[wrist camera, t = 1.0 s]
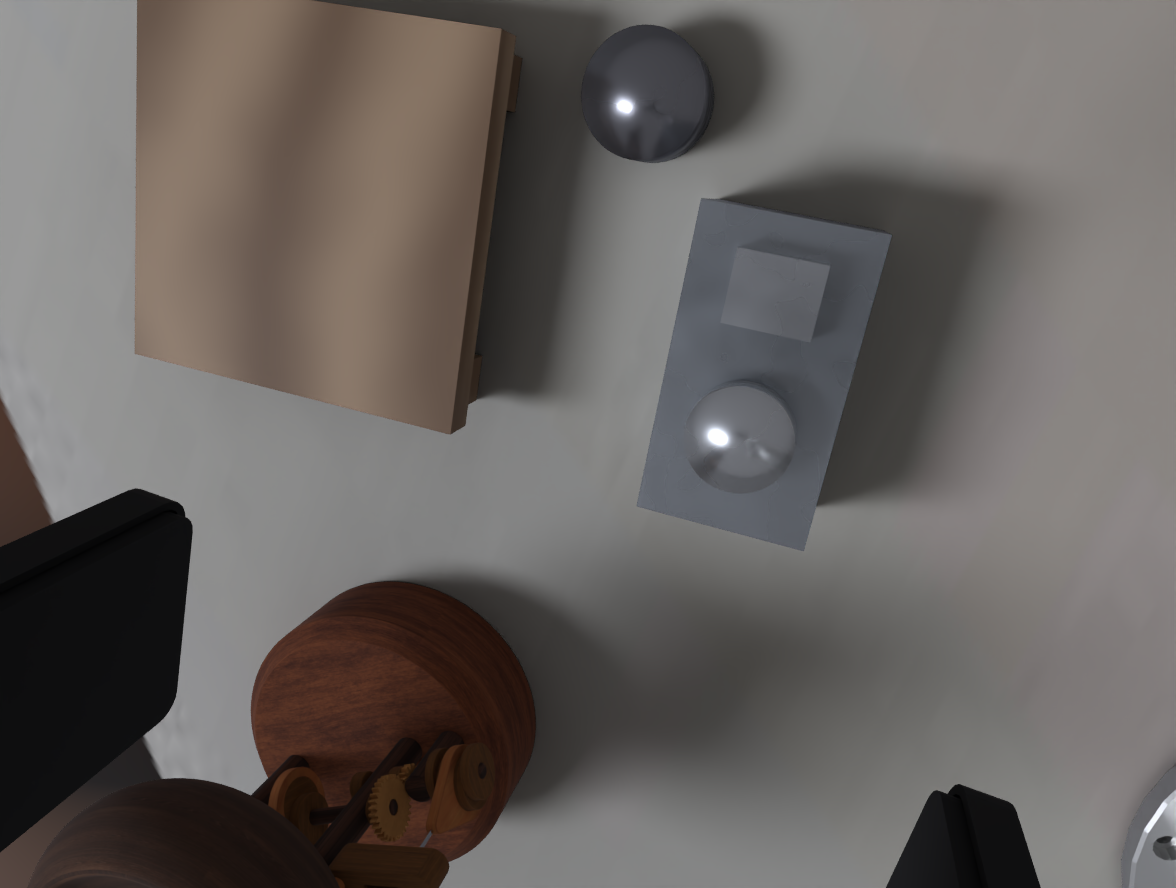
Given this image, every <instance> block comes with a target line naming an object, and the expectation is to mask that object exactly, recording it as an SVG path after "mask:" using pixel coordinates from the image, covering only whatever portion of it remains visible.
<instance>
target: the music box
mask: <svg viewBox="0 0 1176 888" xmlns="http://www.w3.org/2000/svg"><path fill="white" fill-rule="evenodd" d="M251 722H252V730H253V735H254V740H255V744H256V748H257V751H258V754H259V757H260V759H261V762H262V765H263V767H264V770H265V772H266V774H267V777H268V779H267V780H266V781H265V782H264V783H263V784H262V785H261V786H260V787H259V788H258V789H257V790H256V791H255V792H254V793H253V794H252V795H251V796H250V795H248V794H246V793H244V792H242V791H239V790H237V789H234V788H231V787H228V786H225V785H222V784H218V783H214V782H209V781H205V780H198V779H186V778H171V779H159V780H152V781H147V782H142V783H138V784H135V785H132V786H128V787H126V788H123V789H120V790H118V791H116V792H113V793H111V794H109V795H107V796H105V797H103V798H101V799H100V800H98V801H96V802H95V803H93V804H92V805H90V806H89V807H87V808H86V809H84V810H83V811H82V812H81V813H79V814H78V815H77V816H76V817H74V818H73V819H72V820H71V821H70V822H69V823H68V824H67V825H66V826H65V827H64V828H63V829H62V830H61V831H60V832H59V834H58V835H57V836H56V837H55V838H54V840H53V841H52V842H51V843H50V845H49V846H48V847H47V849H46V850H45V852H44V854H43V855H42V857H41V858H40V860H39V862H38V864H37V866H36V868H35V870H34V872H33V874H32V877H31V879H30V882H29V884H28V887H27V888H439V886H440V885H441V883H442V881H443V880H444V878H445V876H446V874H447V873H448V871H449V863H448V862H450V861H452V860H454V859H457V858H459V857H461V856H463V855H464V854H466V853H468V852H469V851H471V850H472V849H473V848H475V847H476V846H477V845H478V844H479V843H480V842H481V841H482V840H483V839H484V838H485V837H486V836H487V835H488V834H489V832H490V831H491V830H492V828H493V827H494V825H495V823H496V822H497V820H498V818H499V816H500V814H501V813H502V811H503V809H504V807H505V805H506V803H507V802H508V800H509V798H510V796H511V794H512V792H513V791H514V789H515V787H516V785H517V783H518V782H519V780H520V778H521V776H522V774H523V772H524V771H525V769H526V767H527V765H528V762H529V760H530V757H531V754H532V750H533V746H534V741H535V731H536V718H535V708H534V702H533V698H532V694H531V690H530V687H529V684H528V681H527V679H526V676H525V674H524V672H523V670H522V667H521V665H520V664H519V662H518V660H517V658H516V657H515V655H514V653H513V652H512V650H511V649H510V648H509V646H508V645H507V643H506V642H505V641H504V640H503V638H502V637H501V636H500V635H499V634H498V633H497V631H496V630H495V629H494V628H493V627H492V626H491V625H490V624H489V623H488V622H486V621H485V620H484V619H483V618H482V617H481V616H479V615H478V614H477V613H476V612H474V611H473V610H472V609H470V608H469V607H467V606H466V605H464V604H463V603H461V602H459V601H458V600H456V599H454V598H452V597H450V596H448V595H446V594H444V593H441V592H439V591H436V590H434V589H431V588H428V587H424V586H421V585H416V584H411V583H404V582H375V583H369V584H365V585H361V586H358V587H355V588H352V589H349V590H347V591H345V592H343V593H341V594H340V595H338V596H336V597H335V598H333V599H332V600H330V601H329V602H328V603H327V604H325V605H324V606H323V607H322V608H320V609H319V610H318V611H316V612H315V613H314V614H313V615H311V616H310V617H309V618H308V619H306V620H305V621H304V622H302V623H301V624H300V625H299V626H297V627H296V628H295V629H294V630H292V631H291V632H290V633H288V634H287V635H286V636H285V637H283V638H282V639H281V640H280V641H279V642H278V643H277V644H276V645H275V646H274V647H273V648H272V650H271V651H270V652H269V653H268V655H267V656H266V658H265V660H264V661H263V663H262V665H261V667H260V669H259V672H258V674H257V677H256V680H255V683H254V687H253V692H252V700H251Z"/></svg>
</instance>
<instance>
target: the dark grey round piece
mask: <svg viewBox="0 0 1176 888" xmlns="http://www.w3.org/2000/svg"><path fill="white" fill-rule="evenodd" d="M581 101H582V109H583V113H584V117H585V120H586V122H587V125H588V127H589V129H590V130H591V132H592V134H593V135H594V137H595V138H596V139H597V140H598V141H599V143H600V144H601V145H602V146H604V147H605V148H606V149H607V150H609V151H610V152H612V153H614V154H616V155H618V156H620V157H623V158H627V159H631V160H636V161H641V162H647V163H660V162H665V161H669V160H672V159H675V158H677V157H679V156H681V155H682V154H684V153H685V152H687V151H688V150H689V149H691V148H692V147H693V146H694V145H695V144H696V143H697V142H698V141H699V139H700V138H701V136H702V135H703V134H704V132H705V130H706V128H707V126H708V124H709V121H710V119H711V115H712V111H713V105H714V88H713V82H712V78H711V75H710V72H709V70H708V68H707V66H706V64H705V62H704V61H703V60H702V58H701V57H700V55H699V54H698V53H697V52H696V51H695V50H694V49H693V48H692V47H691V46H690V45H689V44H688V43H687V42H686V41H685V40H684V39H683V38H682V37H680V36H679V35H678V34H676V33H675V32H673V31H671V30H669V29H666V28H664V27H660V26H655V25H637V26H632V27H629V28H626V29H623V30H621V31H619V32H617V33H615V34H614V35H612V36H611V37H610V38H608V39H607V40H606V41H605V42H604V43H603V44H602V45H601V46H600V47H599V48H598V49H597V51H596V52H595V53H594V55H593V56H592V58H591V60H590V62H589V64H588V66H587V68H586V71H585V74H584V78H583V83H582V91H581Z"/></svg>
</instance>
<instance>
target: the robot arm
mask: <svg viewBox="0 0 1176 888" xmlns="http://www.w3.org/2000/svg"><path fill="white" fill-rule="evenodd" d="M192 533H193V530H192V523H191V521H190V520H189V519H188V518H186V517H185V511H184V509H183V506H181V505H180V504H179V503H178V502H175V501H172V500H170V499H167V498H164V497H161V496H159V495H156V494H153V493H150V492H148V491H145V490H142V489H132V490H128V491H126V492H124V493H121V494H119V495H117V496H115V497H112V498H110V499H108V500H106V501H103V502H101V503H99V504H97V505H94V506H92V507H90V508H88V509H85V510H83V511H81V512H79V513H76V514H74V515H72V516H70V517H67V518H65V519H63V520H60V521H58V522H56V523H54V524H52V525H49V526H47V527H45V528H42V529H40V530H38V531H36V532H33V533H31V534H29V535H27V536H24V537H22V538H20V539H18V540H16V541H13V542H11V543H9V544H7V545H4V546H2V547H0V852H1V851H2V850H4V849H5V848H6V847H7V846H9V845H10V844H11V843H12V842H14V841H15V840H16V839H17V838H18V837H20V836H21V835H22V834H23V833H25V832H26V831H27V830H28V829H29V828H30V827H32V826H33V825H34V824H36V823H37V822H38V821H39V820H40V819H41V818H43V817H44V816H45V815H47V814H48V813H49V812H50V811H51V810H53V809H54V808H55V807H56V806H58V805H59V804H60V803H61V802H62V801H64V800H65V799H66V798H67V797H68V796H70V795H71V794H72V793H73V792H75V791H76V790H77V789H78V788H80V787H81V786H82V785H83V784H85V783H86V782H87V781H88V780H89V779H91V778H92V777H93V776H94V775H96V774H97V773H98V772H99V771H100V770H102V769H103V768H104V767H105V766H107V765H108V764H109V763H110V762H112V761H113V760H114V759H115V758H116V757H118V756H119V755H120V754H121V753H122V752H124V751H125V750H126V749H127V748H129V747H130V746H131V745H132V744H134V743H135V742H136V741H137V740H138V739H140V738H141V737H142V736H143V735H145V734H146V733H147V732H148V731H150V730H151V729H152V728H153V727H154V726H156V725H157V724H158V723H159V722H160V721H161V720H162V719H163V718H164V717H165V716H166V715H167V713H168V712H169V710H170V709H171V707H172V705H173V703H174V700H175V698H176V693H177V685H178V675H179V665H180V655H181V645H182V634H183V624H184V614H185V604H186V594H187V584H188V573H189V563H190V553H191V543H192ZM1121 864H1122V888H1176V765H1175V766H1174V767H1173V768H1171V769H1170V770H1169V771H1167V773H1166V774H1165V775H1164V776H1163V777H1162V778H1161V780H1160V781H1159V782H1158V783H1157V784H1156V786H1155V787H1154V788H1153V789H1152V790H1151V791H1150V793H1149V794H1148V795H1147V796H1146V797H1145V798H1144V800H1143V802H1142V804H1141V806H1140V808H1139V810H1138V812H1137V814H1136V815H1135V817H1134V819H1133V821H1132V823H1131V825H1130V827H1129V830H1128V834H1127V838H1126V842H1125V846H1124V850H1123V855H1122V859H1121ZM886 888H1041V887H1040V884H1039V881H1038V878H1037V875H1036V872H1035V868H1034V865H1033V862H1032V859H1031V856H1030V853H1029V850H1028V846H1027V843H1026V840H1025V837H1024V834H1023V831H1022V828H1021V824H1020V821H1019V818H1018V815H1017V812H1016V810H1015V808H1014V806H1013V804H1011V803H1009V802H1007V801H1005V800H1002V799H999V798H996V797H994V796H991V795H988V794H985V793H983V792H980V791H977V790H974V789H971V788H969V787H966V786H963V785H960V784H958V785H955V786H954V787H953V788H952V789H951V790H950V791H949V793H948V794H946V793H943V792H940V791H938V790H936V791H933V793H932V794H931V795H930V796H929V798H928V800H927V802H926V804H925V806H924V808H923V810H922V812H921V814H920V817H919V819H918V821H917V823H916V825H915V827H914V829H913V831H912V834H911V836H910V838H909V840H908V842H907V844H906V846H905V848H904V851H903V853H902V855H901V857H900V859H899V861H898V863H897V865H896V867H895V870H894V872H893V874H892V876H891V878H890V880H889V882H888V884H887V887H886Z"/></svg>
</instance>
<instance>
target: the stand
mask: <svg viewBox="0 0 1176 888" xmlns="http://www.w3.org/2000/svg"><path fill="white" fill-rule="evenodd" d="M515 42H516V36H515V35H513V34H511V33H509V32H507V31H505V30H503V29H500V28H494V27H487V26H480V25H474V24H467V23H460V22H454V21H447V20H440V19H434V18H427V17H420V16H414V15H407V14H400V13H393V12H387V11H380V10H373V9H367V8H360V7H353V6H347V5H340V4H333V3H327V2H320V1H313V0H137V109H136V251H135V354H138V355H142V356H146V357H150V358H154V359H158V360H161V361H165V362H169V363H173V364H177V365H181V366H185V367H189V368H193V369H197V370H201V371H204V372H208V373H212V374H216V375H220V376H224V377H228V378H232V379H236V380H240V381H243V382H247V383H251V384H255V385H259V386H263V387H267V388H271V389H275V390H279V391H283V392H286V393H290V394H294V395H298V396H302V397H306V398H310V399H314V400H318V401H322V402H325V403H329V404H333V405H337V406H341V407H345V408H349V409H353V410H357V411H361V412H365V413H368V414H372V415H376V416H380V417H384V418H388V419H392V420H396V421H400V422H404V423H407V424H411V425H415V426H419V427H423V428H427V429H431V430H435V431H439V432H443V433H447V434H452V433H454V432H455V431H457V430H459V429H460V428H462V427H464V426H465V424H466V416H467V408H468V404H470V403H472V402H474V401H476V400H477V392H478V385H479V378H480V370H481V363H482V356H481V355H476V354H475V347H476V340H477V332H478V325H479V317H480V309H481V302H482V294H483V286H484V279H485V271H486V263H487V256H488V248H489V241H490V233H491V225H492V218H493V210H494V202H495V195H496V187H497V179H498V172H499V164H500V157H501V149H502V141H503V134H504V126H505V118H506V111H510V112H515V109H516V101H517V94H518V86H519V79H520V71H521V64H522V58H520V57H518V56H516V55H514V50H515Z"/></svg>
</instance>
